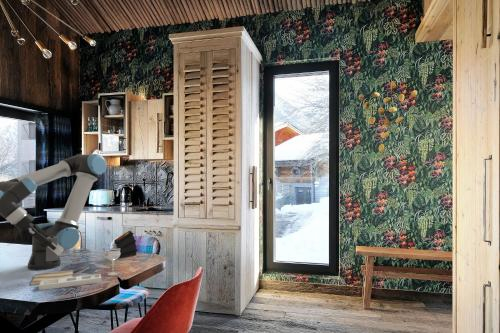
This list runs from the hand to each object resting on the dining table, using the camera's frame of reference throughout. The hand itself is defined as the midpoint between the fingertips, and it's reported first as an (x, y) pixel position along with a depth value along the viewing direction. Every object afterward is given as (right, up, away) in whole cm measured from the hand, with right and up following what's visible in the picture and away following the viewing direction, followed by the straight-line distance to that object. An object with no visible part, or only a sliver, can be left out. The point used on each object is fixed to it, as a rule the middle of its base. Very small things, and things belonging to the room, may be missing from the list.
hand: (61, 252), depth 157 cm
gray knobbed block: (-3, -3, -2) cm, 5 cm away
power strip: (+10, -12, -9) cm, 18 cm away
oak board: (-3, -12, -1) cm, 13 cm away
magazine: (+15, -14, +43) cm, 47 cm away
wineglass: (+21, -13, +8) cm, 26 cm away
